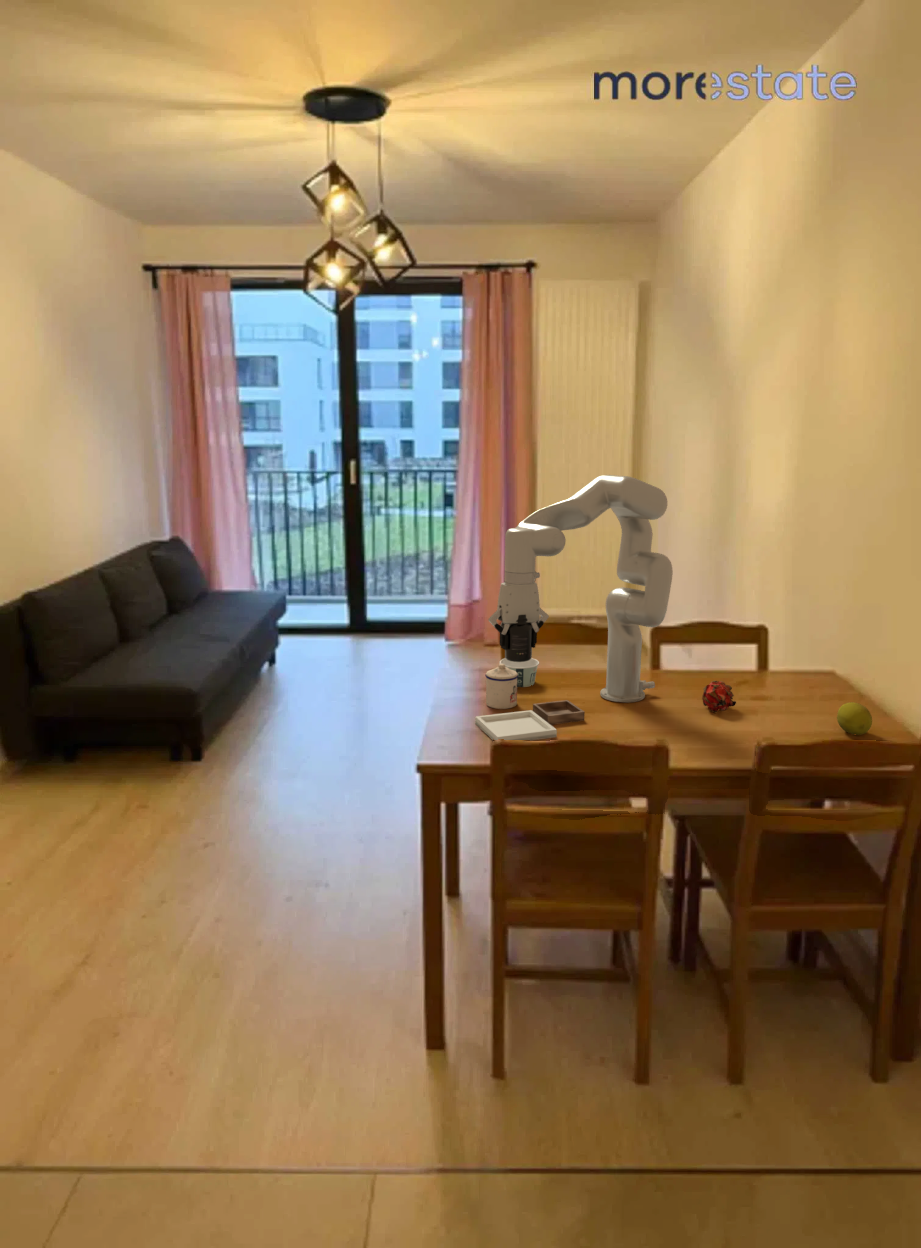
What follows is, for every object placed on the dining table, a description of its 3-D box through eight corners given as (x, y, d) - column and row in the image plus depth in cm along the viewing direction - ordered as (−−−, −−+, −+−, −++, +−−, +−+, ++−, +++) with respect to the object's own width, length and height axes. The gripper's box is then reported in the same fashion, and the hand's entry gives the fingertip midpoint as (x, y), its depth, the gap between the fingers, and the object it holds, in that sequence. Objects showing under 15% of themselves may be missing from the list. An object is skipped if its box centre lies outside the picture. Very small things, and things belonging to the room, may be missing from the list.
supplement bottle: (503, 655, 234) (504, 609, 232) (529, 655, 235) (530, 609, 232) (506, 662, 228) (507, 615, 225) (533, 662, 228) (534, 615, 225)
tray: (531, 717, 245) (531, 710, 245) (556, 737, 231) (556, 729, 230) (475, 723, 240) (475, 716, 240) (497, 744, 226) (497, 737, 225)
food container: (500, 676, 282) (500, 656, 281) (539, 677, 281) (539, 657, 279) (498, 688, 271) (498, 667, 269) (538, 689, 269) (539, 668, 268)
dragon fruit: (715, 707, 258) (722, 727, 247) (692, 690, 257) (697, 710, 246) (736, 685, 255) (743, 705, 244) (712, 668, 254) (719, 687, 243)
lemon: (875, 741, 228) (879, 710, 226) (843, 740, 229) (846, 709, 227) (861, 726, 239) (864, 697, 237) (830, 725, 239) (833, 696, 237)
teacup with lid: (517, 710, 251) (517, 669, 248) (484, 709, 252) (484, 668, 249) (518, 696, 263) (519, 657, 260) (486, 695, 263) (487, 656, 261)
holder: (567, 708, 252) (567, 700, 252) (584, 720, 243) (584, 711, 242) (532, 712, 249) (532, 704, 248) (548, 725, 239) (548, 716, 239)
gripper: (545, 573, 233) (543, 641, 237) (481, 577, 227) (480, 646, 231) (557, 578, 226) (555, 648, 230) (492, 582, 220) (491, 654, 224)
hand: (518, 647), depth 231 cm, fingers closed on supplement bottle, 6 cm apart
